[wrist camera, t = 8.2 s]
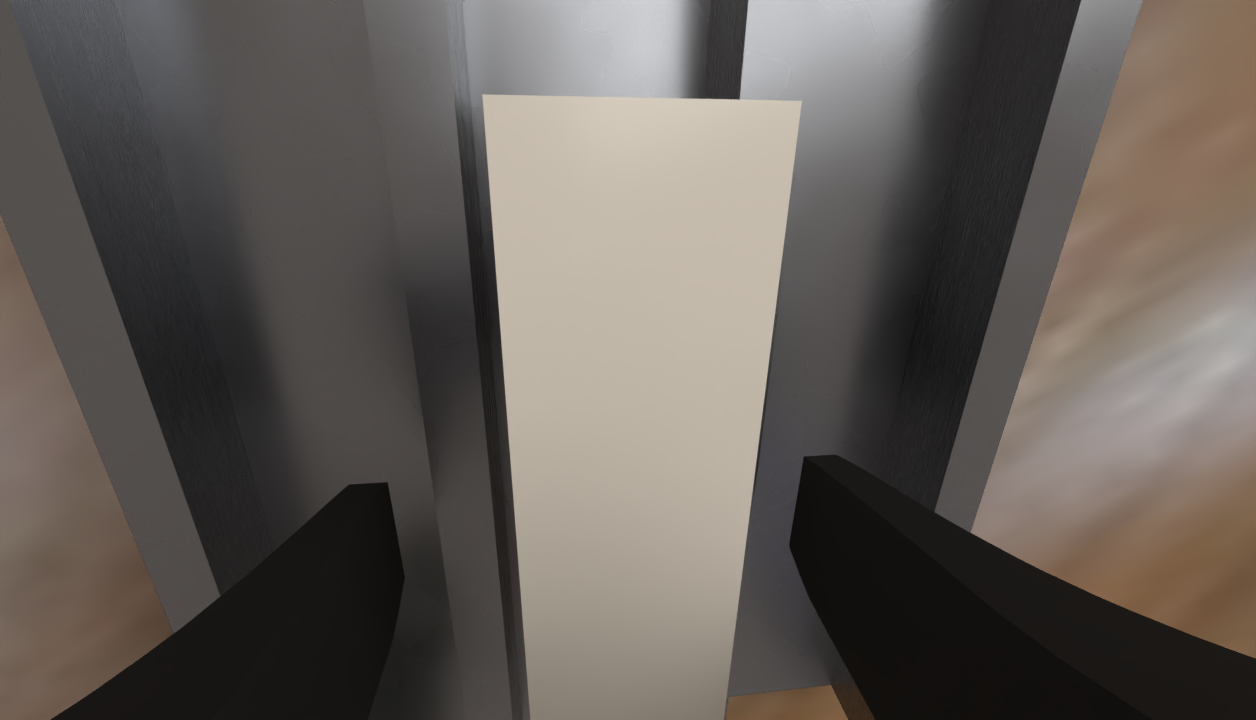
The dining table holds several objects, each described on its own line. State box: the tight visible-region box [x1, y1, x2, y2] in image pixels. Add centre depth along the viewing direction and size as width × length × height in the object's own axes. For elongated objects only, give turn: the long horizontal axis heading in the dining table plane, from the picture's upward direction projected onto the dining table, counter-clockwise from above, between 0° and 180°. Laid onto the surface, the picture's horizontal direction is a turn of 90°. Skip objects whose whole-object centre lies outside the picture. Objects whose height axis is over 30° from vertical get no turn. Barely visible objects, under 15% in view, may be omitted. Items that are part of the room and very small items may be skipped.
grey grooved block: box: [0, 0, 1143, 720], centre depth 12 cm, size 18×16×3 cm
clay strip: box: [482, 94, 802, 720], centre depth 10 cm, size 14×2×6 cm, turn 179°
